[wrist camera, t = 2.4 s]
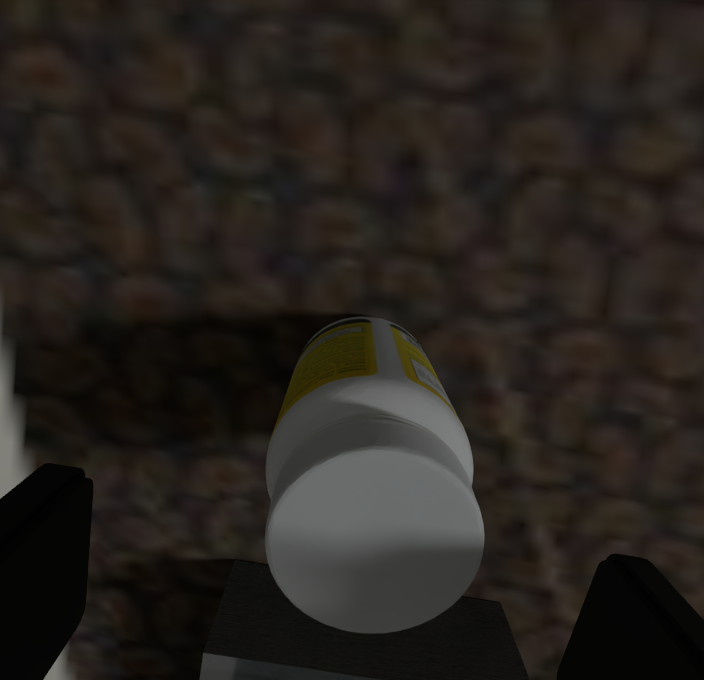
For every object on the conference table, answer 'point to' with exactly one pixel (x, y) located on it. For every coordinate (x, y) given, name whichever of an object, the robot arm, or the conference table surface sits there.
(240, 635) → the grey drawer with knob
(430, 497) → the supplement bottle
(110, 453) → the conference table surface
